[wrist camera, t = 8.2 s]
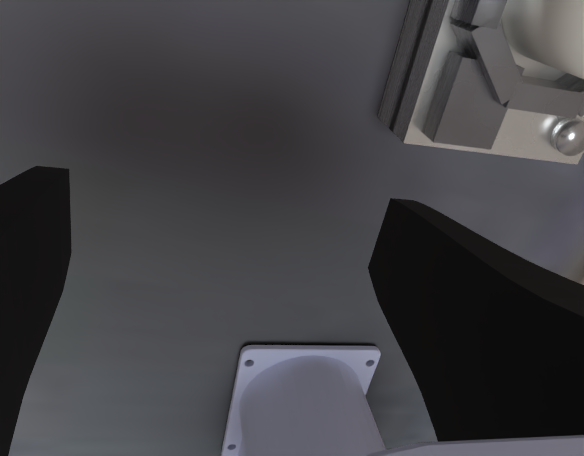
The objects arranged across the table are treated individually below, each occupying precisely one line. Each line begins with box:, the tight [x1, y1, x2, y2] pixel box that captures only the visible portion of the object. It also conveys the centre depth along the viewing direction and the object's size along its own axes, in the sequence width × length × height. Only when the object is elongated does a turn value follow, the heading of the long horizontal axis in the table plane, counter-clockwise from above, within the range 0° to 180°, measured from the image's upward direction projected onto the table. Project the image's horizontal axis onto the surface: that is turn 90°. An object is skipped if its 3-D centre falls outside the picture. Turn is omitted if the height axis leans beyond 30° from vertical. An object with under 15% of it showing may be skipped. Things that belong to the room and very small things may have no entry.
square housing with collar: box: [378, 0, 584, 164], centre depth 18 cm, size 10×8×4 cm
